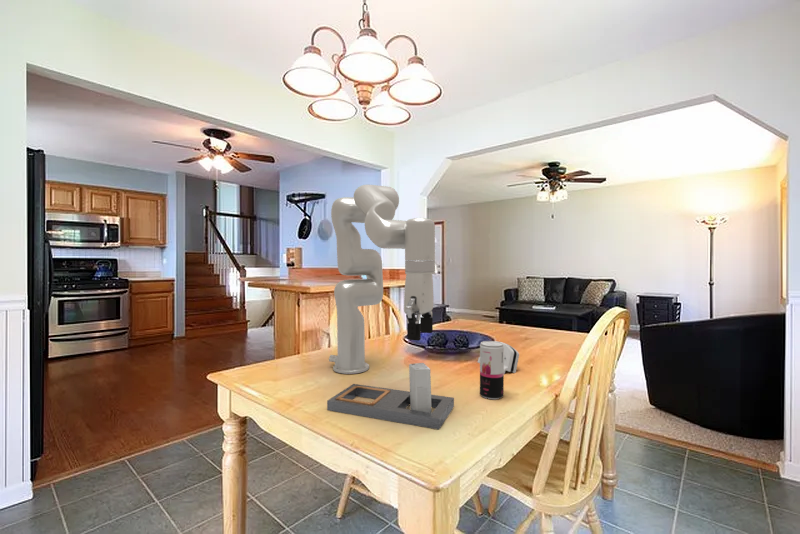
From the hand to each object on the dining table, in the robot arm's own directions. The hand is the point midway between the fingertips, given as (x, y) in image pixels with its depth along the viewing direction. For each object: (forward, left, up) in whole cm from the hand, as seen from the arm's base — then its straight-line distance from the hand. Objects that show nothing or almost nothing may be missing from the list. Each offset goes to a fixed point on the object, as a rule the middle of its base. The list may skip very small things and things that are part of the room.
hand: (420, 336), depth 96 cm
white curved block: (+13, +49, -20) cm, 55 cm away
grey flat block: (-8, 0, -20) cm, 21 cm away
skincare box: (0, 0, -20) cm, 20 cm away
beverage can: (+15, +19, -20) cm, 31 cm away
